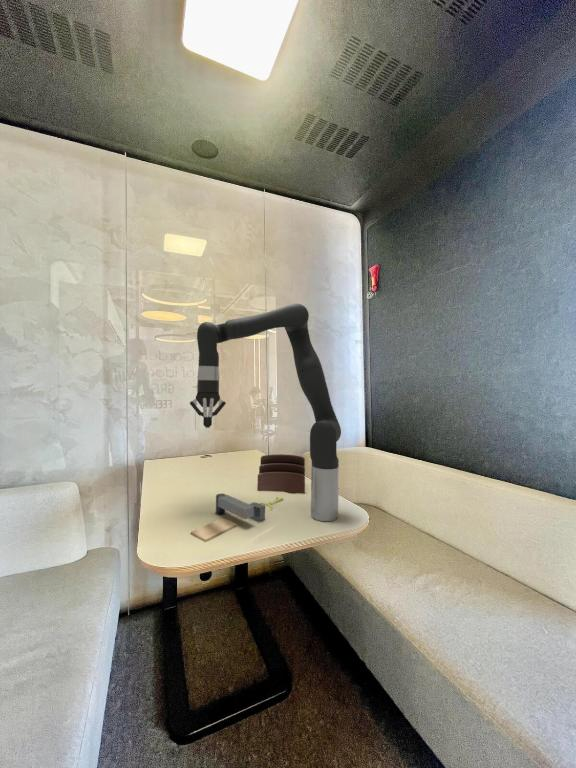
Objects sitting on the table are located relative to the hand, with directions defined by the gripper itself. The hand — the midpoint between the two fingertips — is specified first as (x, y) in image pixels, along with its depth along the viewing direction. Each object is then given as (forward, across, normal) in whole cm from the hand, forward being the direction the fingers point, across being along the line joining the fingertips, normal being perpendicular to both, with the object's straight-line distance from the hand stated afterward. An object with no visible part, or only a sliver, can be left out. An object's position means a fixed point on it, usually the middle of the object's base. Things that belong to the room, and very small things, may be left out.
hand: (207, 427), depth 107 cm
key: (+30, -23, +4) cm, 38 cm away
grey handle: (+28, -8, +12) cm, 32 cm away
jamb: (+29, -9, +10) cm, 32 cm away
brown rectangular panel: (+29, -2, +18) cm, 34 cm away
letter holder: (+30, -32, -12) cm, 45 cm away
